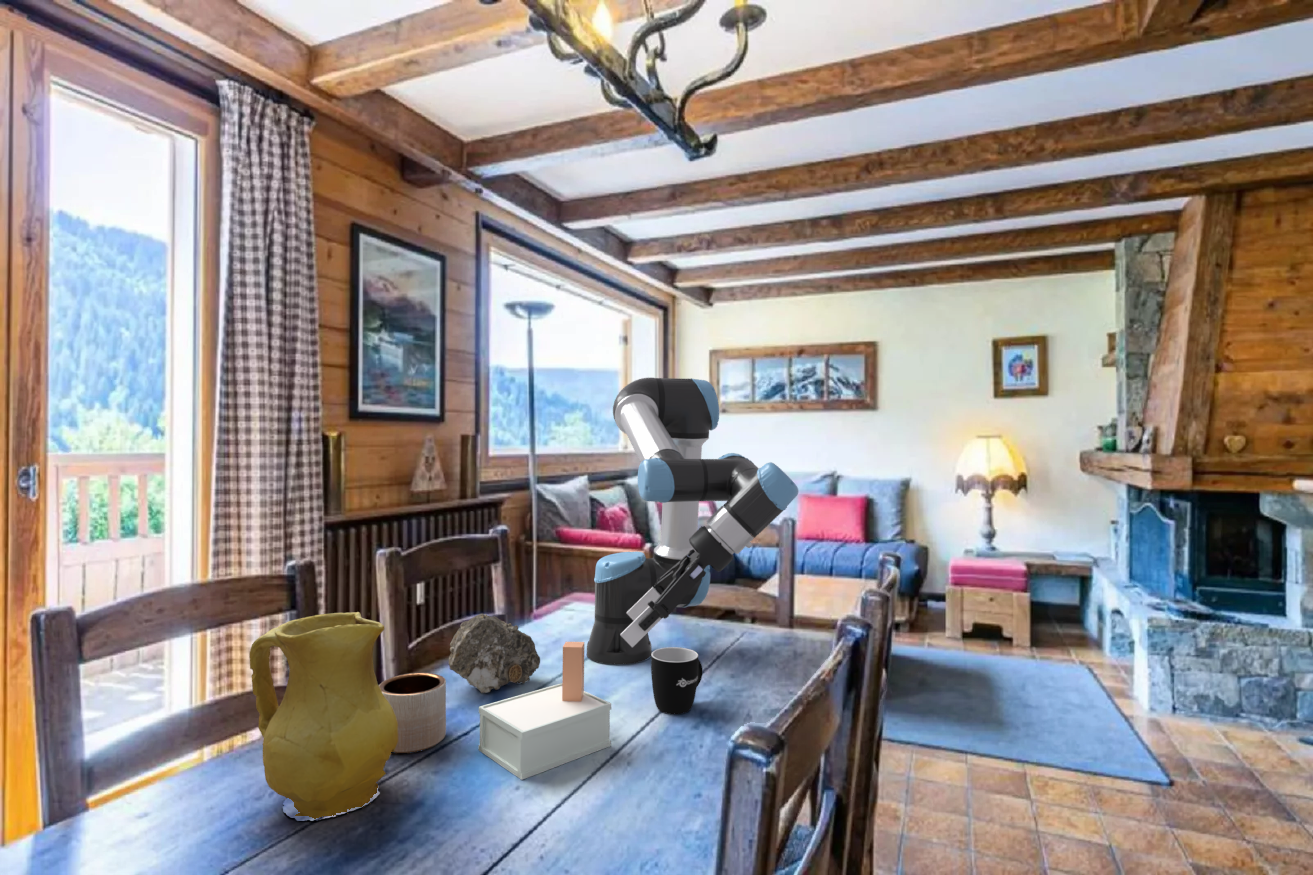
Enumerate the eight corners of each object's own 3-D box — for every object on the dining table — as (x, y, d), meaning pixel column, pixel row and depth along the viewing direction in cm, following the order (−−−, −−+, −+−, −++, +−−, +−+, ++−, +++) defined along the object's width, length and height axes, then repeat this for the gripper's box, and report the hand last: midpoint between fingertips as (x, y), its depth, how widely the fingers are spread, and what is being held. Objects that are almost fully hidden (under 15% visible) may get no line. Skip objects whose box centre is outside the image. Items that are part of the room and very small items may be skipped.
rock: (495, 612, 133) (474, 583, 145) (440, 672, 129) (423, 637, 142) (556, 661, 141) (531, 630, 154) (506, 719, 138) (485, 682, 151)
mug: (674, 722, 124) (675, 665, 124) (640, 707, 130) (641, 653, 130) (718, 704, 132) (718, 651, 132) (683, 691, 138) (684, 641, 138)
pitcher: (309, 845, 85) (311, 638, 86) (230, 808, 94) (233, 623, 96) (423, 790, 99) (424, 613, 100) (344, 763, 109) (345, 602, 110)
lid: (564, 689, 122) (564, 634, 122) (605, 709, 114) (606, 649, 114) (484, 713, 112) (485, 652, 112) (523, 736, 103) (524, 670, 103)
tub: (564, 721, 123) (565, 682, 123) (610, 745, 114) (611, 703, 114) (478, 750, 112) (478, 706, 112) (521, 780, 102) (522, 732, 102)
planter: (459, 732, 118) (459, 676, 118) (417, 760, 108) (418, 699, 108) (406, 723, 122) (407, 668, 122) (361, 749, 112) (362, 690, 112)
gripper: (743, 570, 103) (641, 670, 103) (729, 544, 128) (648, 624, 128) (707, 534, 103) (606, 633, 103) (701, 515, 128) (619, 595, 128)
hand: (629, 629), depth 116 cm, fingers open, 13 cm apart
